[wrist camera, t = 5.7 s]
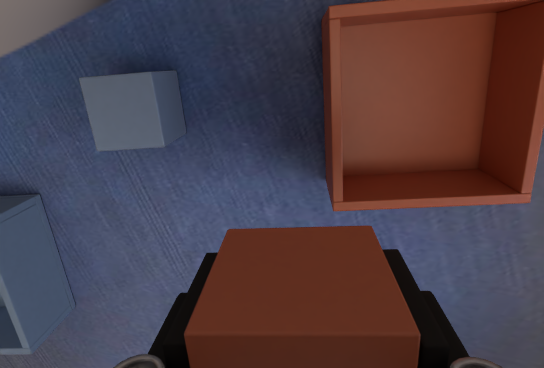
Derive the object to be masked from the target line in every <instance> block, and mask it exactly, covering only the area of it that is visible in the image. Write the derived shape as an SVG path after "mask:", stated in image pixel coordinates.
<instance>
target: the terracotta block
mask: <svg viewBox="0 0 544 368" xmlns="http://www.w3.org/2000/svg"><path fill="white" fill-rule="evenodd" d="M420 336H421V334H420V332H419V330H418V328H417V325H416V323H415V321H414V319H413V317H412V314H411V312H410V310H409V308H408V306H407V303H406V301H405V299H404V297H403V295H402V292H401V290H400V288H399V286H398V284H397V281H396V279H395V277H394V275H393V273H392V270H391V268H390V266H389V264H388V261H387V259H386V257H385V255H384V253H383V250H382V248H381V246H380V244H379V242H378V239H377V237H376V235H375V233H374V231H373V228H372V226H337V227H296V228H255V229H229V230H227V233H226V235H225V237H224V240H223V242H222V245H221V247H220V249H219V252H218V254H217V256H216V259H215V261H214V263H213V266H212V268H211V271H210V273H209V275H208V278H207V280H206V282H205V285H204V287H203V290H202V292H201V294H200V297H199V299H198V301H197V304H196V306H195V308H194V311H193V313H192V316H191V318H190V320H189V323H188V325H187V327H186V330H185V332H184V338H185V343H186V348H187V354H188V359H189V365H190V368H417V366H418V356H419V346H420Z"/></svg>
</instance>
